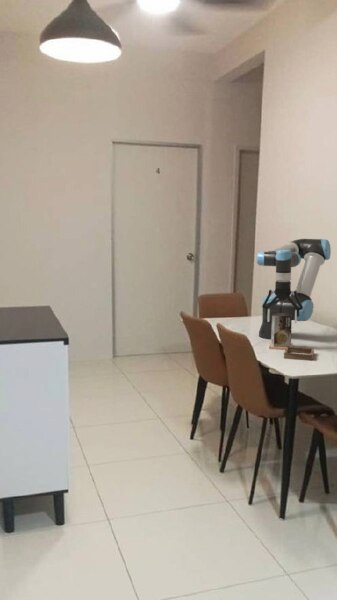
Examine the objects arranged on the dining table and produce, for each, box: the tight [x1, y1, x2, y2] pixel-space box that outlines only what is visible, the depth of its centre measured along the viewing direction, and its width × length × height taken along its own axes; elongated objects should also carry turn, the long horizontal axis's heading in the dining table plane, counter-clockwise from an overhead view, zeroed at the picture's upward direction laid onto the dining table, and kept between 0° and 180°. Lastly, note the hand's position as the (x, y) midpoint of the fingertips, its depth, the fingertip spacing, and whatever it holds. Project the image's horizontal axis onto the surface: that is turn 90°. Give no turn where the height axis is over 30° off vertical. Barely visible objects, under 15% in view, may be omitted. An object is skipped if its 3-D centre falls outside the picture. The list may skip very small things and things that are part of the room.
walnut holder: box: [283, 346, 315, 361], centre depth 248 cm, size 13×13×2 cm
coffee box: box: [270, 313, 293, 347], centre depth 264 cm, size 9×6×16 cm
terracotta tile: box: [268, 342, 294, 351], centre depth 265 cm, size 11×11×1 cm
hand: (282, 322), depth 263 cm, fingers open, 13 cm apart
